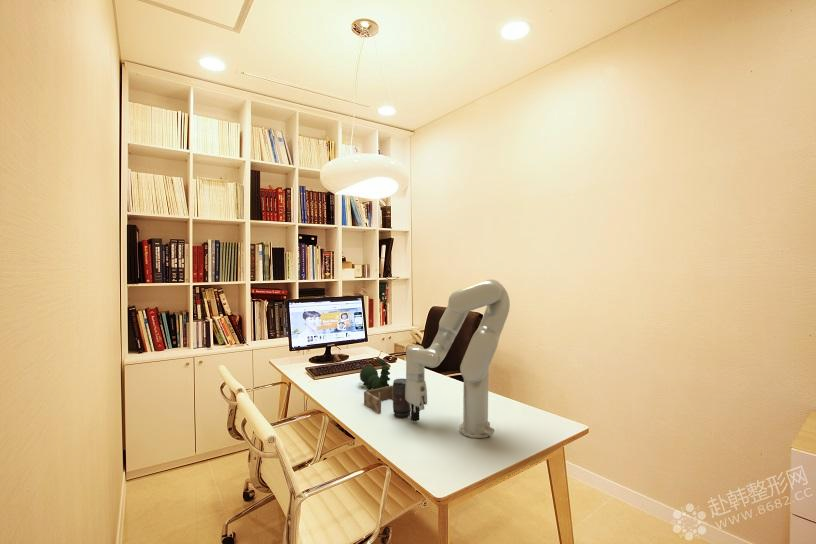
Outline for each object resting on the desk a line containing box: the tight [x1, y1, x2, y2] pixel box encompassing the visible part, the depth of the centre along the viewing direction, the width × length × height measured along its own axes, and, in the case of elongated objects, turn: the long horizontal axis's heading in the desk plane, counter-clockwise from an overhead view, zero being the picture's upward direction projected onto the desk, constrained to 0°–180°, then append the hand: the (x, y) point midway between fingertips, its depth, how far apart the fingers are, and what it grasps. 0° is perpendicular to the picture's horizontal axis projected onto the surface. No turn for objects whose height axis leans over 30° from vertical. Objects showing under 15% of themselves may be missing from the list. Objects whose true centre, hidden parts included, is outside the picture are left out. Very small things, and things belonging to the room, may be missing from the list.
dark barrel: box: [392, 378, 411, 419], centre depth 161 cm, size 8×8×15 cm
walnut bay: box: [363, 384, 393, 415], centre depth 172 cm, size 13×15×9 cm
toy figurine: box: [359, 358, 391, 391], centre depth 193 cm, size 9×19×25 cm
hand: (415, 420), depth 153 cm, fingers closed
